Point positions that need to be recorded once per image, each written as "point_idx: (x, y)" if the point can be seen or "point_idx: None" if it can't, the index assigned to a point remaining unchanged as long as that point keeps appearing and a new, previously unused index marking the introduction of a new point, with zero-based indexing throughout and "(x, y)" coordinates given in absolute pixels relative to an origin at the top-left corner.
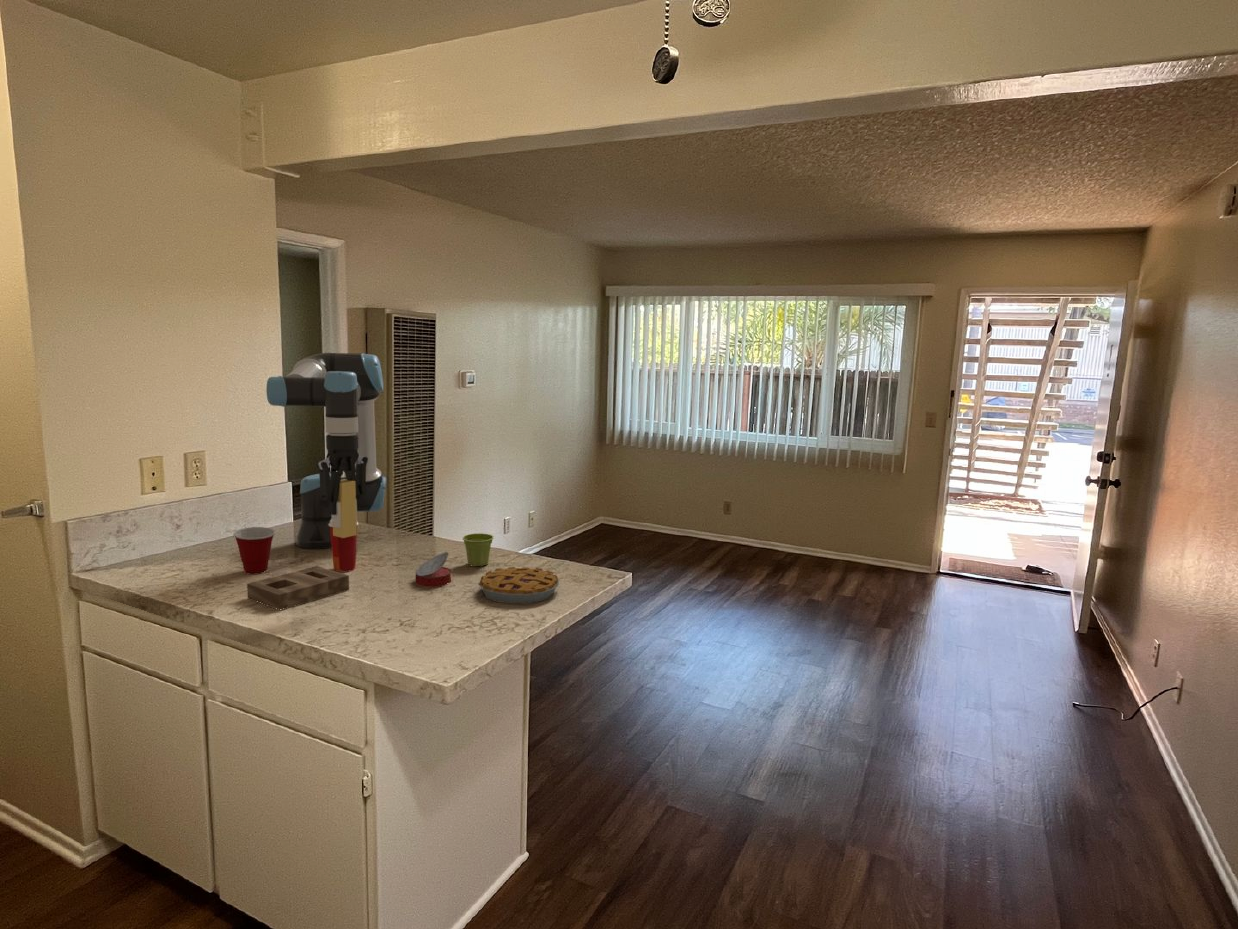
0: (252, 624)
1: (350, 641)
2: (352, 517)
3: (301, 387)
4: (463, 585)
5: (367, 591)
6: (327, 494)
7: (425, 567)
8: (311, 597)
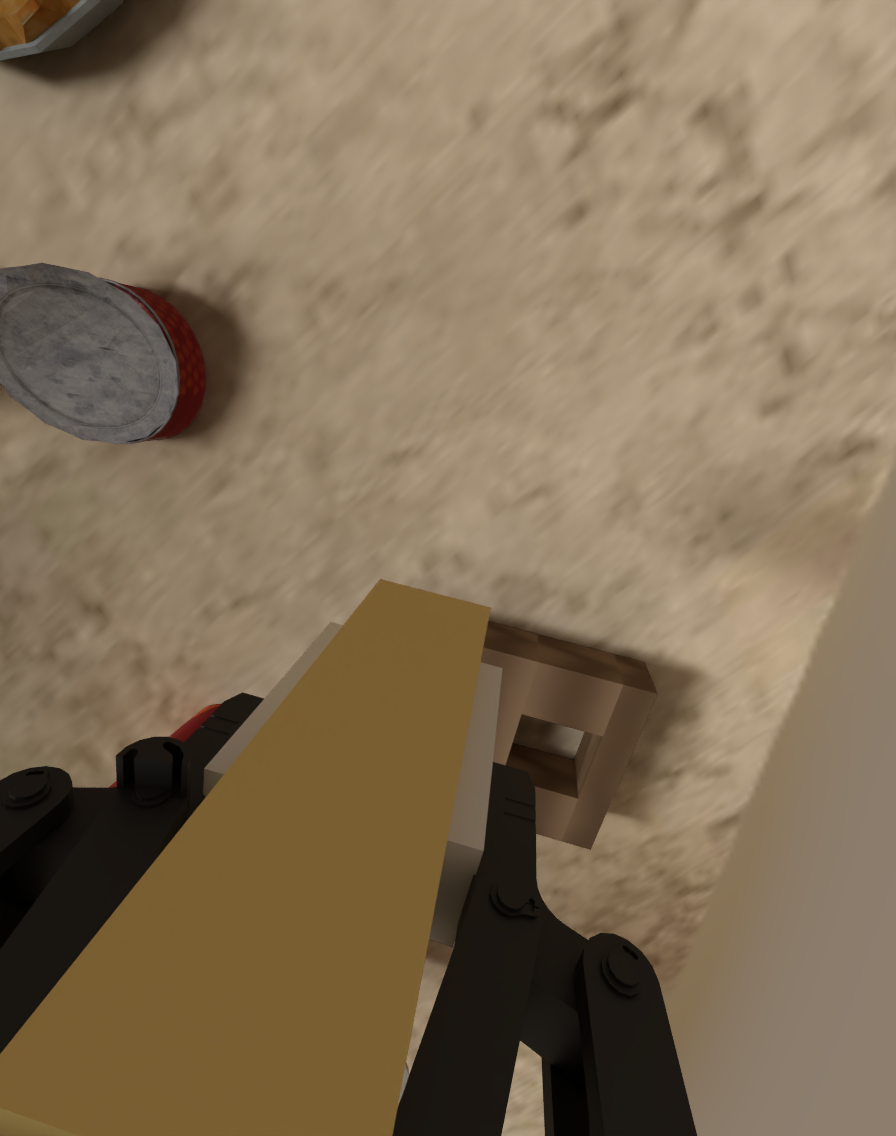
0: (793, 652)
1: (879, 173)
2: (369, 652)
3: None
4: (99, 204)
5: (357, 524)
6: (663, 1070)
7: (112, 398)
8: (525, 636)
